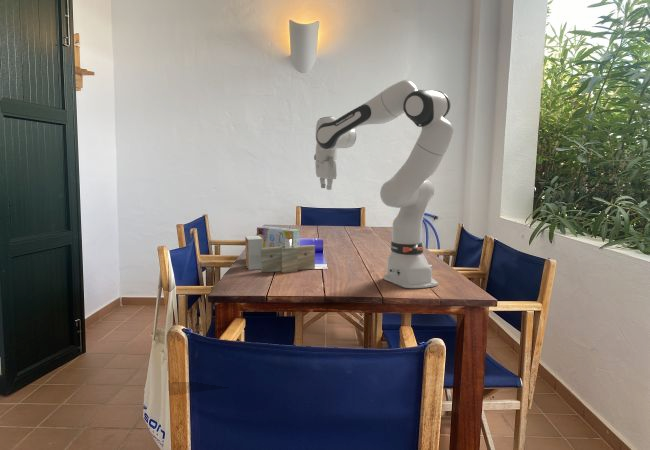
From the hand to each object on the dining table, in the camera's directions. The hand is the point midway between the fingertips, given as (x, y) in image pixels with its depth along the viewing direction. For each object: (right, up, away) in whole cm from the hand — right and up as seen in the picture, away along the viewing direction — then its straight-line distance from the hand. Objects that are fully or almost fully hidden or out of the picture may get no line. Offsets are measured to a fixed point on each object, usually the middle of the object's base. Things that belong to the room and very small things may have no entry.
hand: (326, 188), depth 205 cm
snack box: (-22, -32, +12) cm, 41 cm away
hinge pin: (-16, -34, -5) cm, 38 cm away
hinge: (-16, -34, -5) cm, 38 cm away
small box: (-31, -34, 0) cm, 46 cm away
